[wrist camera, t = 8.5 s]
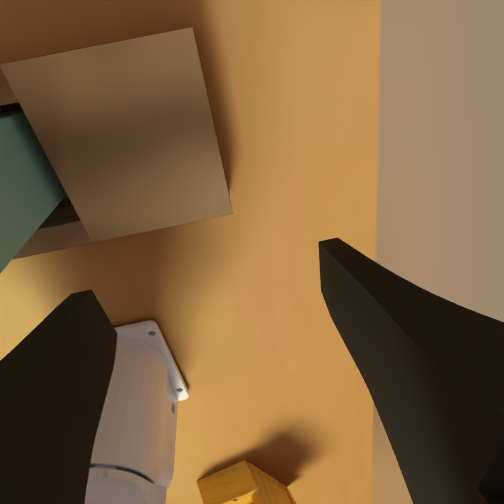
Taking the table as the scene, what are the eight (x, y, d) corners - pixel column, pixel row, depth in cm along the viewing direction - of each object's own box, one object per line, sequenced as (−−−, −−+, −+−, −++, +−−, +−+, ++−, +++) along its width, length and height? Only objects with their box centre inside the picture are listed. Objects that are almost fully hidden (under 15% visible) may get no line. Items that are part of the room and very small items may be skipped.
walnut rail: (229, 194, 19) (232, 213, 17) (-118, 265, 18) (-158, 294, 16) (193, 28, 14) (192, 26, 12) (-267, 117, 14) (-349, 132, 12)
